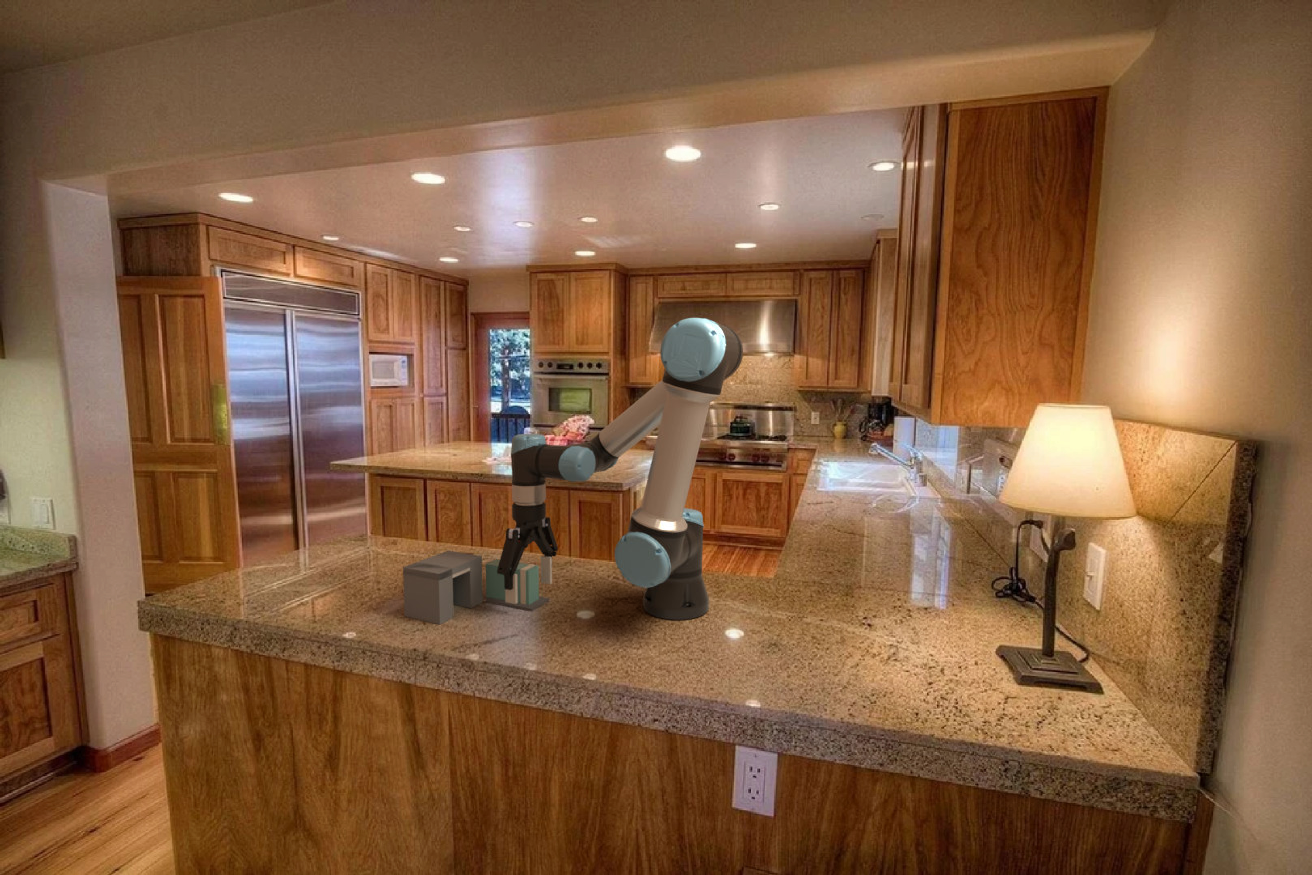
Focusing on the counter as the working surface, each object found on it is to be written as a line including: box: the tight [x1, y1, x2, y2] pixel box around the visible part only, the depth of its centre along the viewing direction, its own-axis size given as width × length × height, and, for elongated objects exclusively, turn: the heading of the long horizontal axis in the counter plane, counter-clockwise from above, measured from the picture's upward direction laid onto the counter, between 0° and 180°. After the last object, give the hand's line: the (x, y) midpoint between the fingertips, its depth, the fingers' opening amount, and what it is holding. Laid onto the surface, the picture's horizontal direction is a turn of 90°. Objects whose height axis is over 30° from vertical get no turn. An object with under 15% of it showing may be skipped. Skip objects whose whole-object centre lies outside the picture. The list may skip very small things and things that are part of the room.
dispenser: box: [402, 550, 484, 625], centre depth 128 cm, size 10×14×11 cm
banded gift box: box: [485, 558, 540, 605], centre depth 134 cm, size 12×4×8 cm, turn 68°
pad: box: [484, 595, 550, 612], centre depth 134 cm, size 13×7×1 cm, turn 67°
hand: (529, 592), depth 132 cm, fingers open, 13 cm apart
